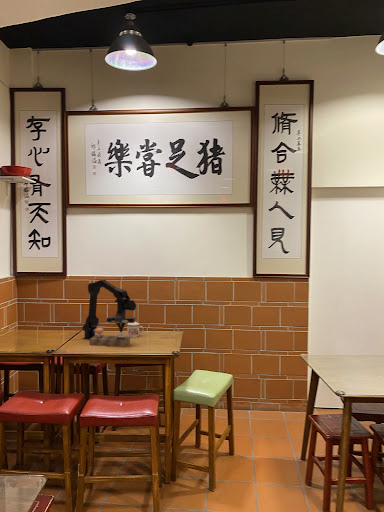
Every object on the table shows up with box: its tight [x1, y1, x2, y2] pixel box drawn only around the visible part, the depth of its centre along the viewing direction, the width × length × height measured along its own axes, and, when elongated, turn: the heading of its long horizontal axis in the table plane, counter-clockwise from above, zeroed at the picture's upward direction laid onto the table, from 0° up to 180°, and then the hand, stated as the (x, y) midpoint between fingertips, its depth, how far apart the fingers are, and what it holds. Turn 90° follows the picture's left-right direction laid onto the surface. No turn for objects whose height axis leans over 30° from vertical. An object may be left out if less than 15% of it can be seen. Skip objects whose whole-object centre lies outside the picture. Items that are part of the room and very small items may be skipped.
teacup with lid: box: [126, 321, 144, 338], centre depth 288 cm, size 12×9×12 cm
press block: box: [89, 334, 131, 348], centre depth 266 cm, size 24×12×4 cm, turn 83°
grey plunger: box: [116, 332, 126, 339], centre depth 265 cm, size 5×5×6 cm
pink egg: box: [95, 327, 104, 338], centre depth 266 cm, size 5×5×6 cm
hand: (121, 332), depth 264 cm, fingers closed
